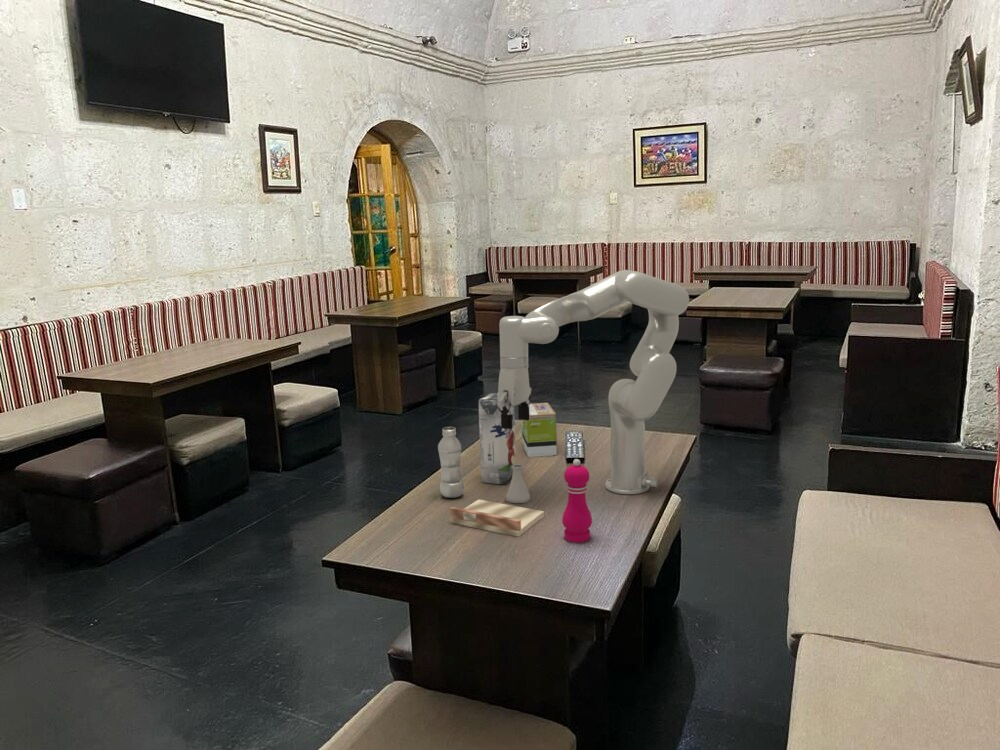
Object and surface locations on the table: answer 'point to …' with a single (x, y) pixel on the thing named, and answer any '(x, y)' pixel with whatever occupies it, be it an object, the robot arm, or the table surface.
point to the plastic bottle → (450, 464)
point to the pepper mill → (576, 504)
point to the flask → (517, 487)
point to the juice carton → (495, 442)
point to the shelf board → (496, 517)
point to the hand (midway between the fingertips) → (515, 423)
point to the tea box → (540, 431)
